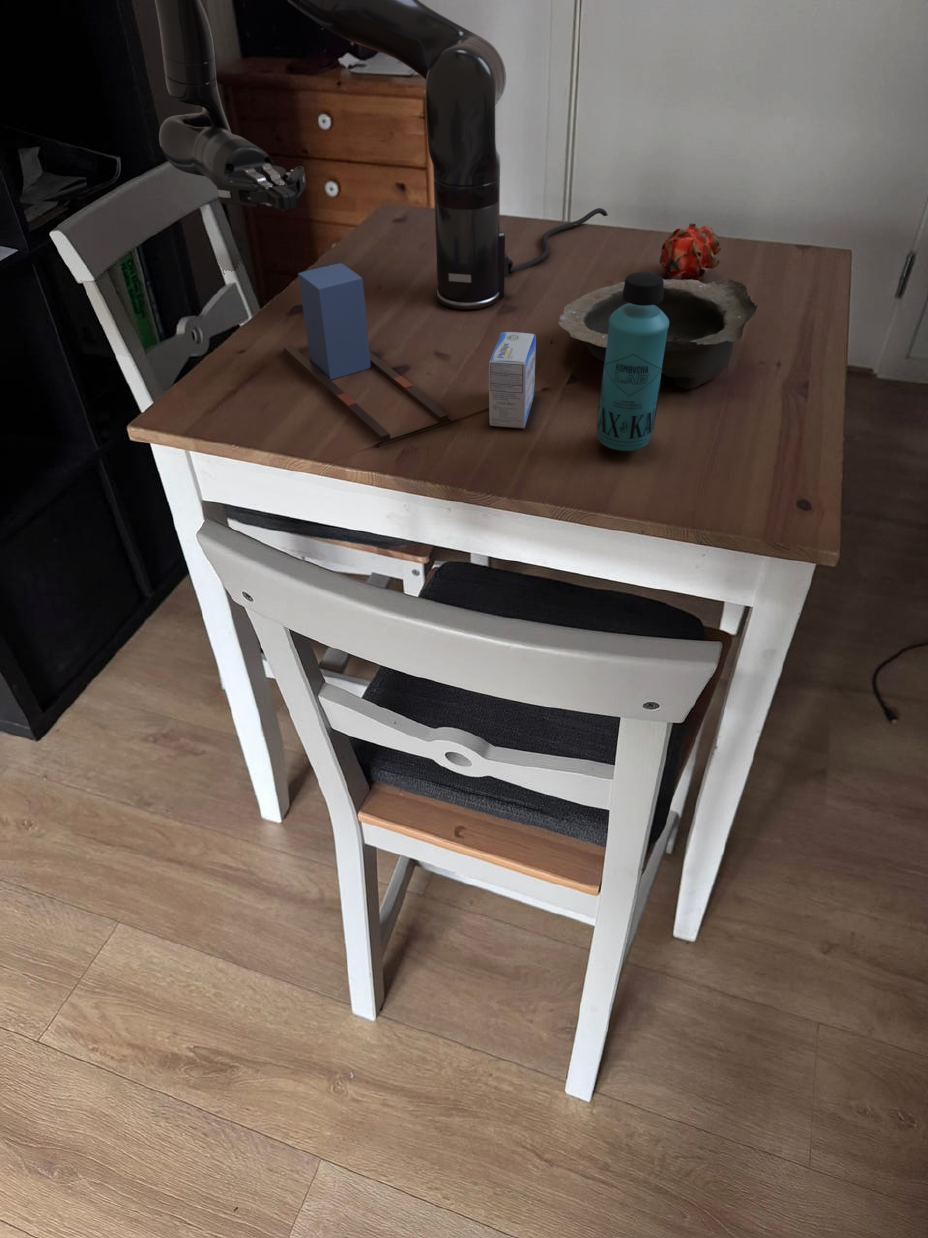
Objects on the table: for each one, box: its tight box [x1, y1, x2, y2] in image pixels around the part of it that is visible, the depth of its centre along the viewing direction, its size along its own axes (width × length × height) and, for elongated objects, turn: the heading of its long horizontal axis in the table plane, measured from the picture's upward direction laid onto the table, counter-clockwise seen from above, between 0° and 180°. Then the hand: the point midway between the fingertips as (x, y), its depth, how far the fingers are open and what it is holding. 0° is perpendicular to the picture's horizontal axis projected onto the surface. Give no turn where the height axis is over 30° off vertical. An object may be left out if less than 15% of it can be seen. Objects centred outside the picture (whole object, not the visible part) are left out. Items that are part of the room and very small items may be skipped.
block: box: [297, 262, 372, 381], centre depth 115 cm, size 6×6×12 cm
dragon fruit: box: [659, 222, 722, 281], centre depth 138 cm, size 8×8×12 cm
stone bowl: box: [557, 278, 759, 390], centre depth 117 cm, size 25×25×9 cm
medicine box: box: [488, 331, 537, 429], centre depth 107 cm, size 8×4×9 cm, turn 168°
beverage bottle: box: [595, 271, 669, 452], centre depth 97 cm, size 6×7×20 cm
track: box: [283, 344, 452, 448], centre depth 115 cm, size 10×28×1 cm, turn 32°
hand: (289, 202), depth 113 cm, fingers closed
